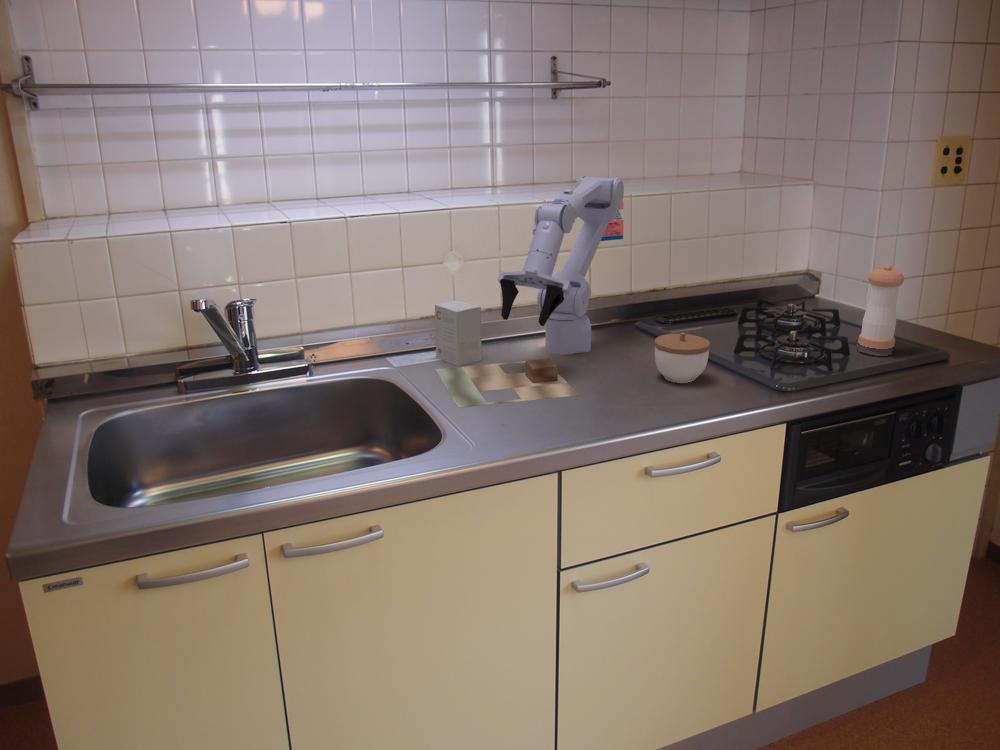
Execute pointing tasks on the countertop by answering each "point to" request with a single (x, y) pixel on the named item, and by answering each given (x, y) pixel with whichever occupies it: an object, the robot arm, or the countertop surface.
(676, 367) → the lidded jar
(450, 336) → the small box
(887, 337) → the pepper shaker
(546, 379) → the block
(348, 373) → the countertop surface
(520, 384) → the board
